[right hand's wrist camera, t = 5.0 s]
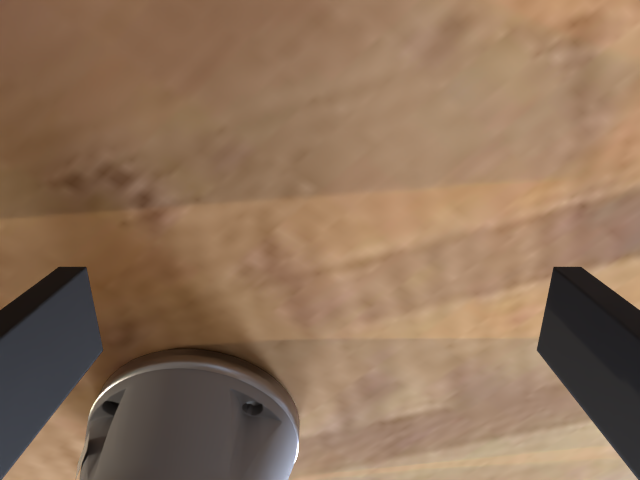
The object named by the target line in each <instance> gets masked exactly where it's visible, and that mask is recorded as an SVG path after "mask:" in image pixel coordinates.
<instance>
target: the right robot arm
mask: <svg viewBox="0 0 640 480" xmlns="http://www.w3.org/2000/svg"><path fill="white" fill-rule="evenodd" d="M102 351H103V347H102V342H101V337H100V332H99V327H98V322H97V317H96V312H95V307H94V302H93V298H92V293H91V288H90V283H89V278H88V273H87V268H86V267H58V268H57V269H56V270H54V271H53V272H51V273H50V274H49V275H47V276H46V277H45V278H43V279H42V280H41V281H39V282H38V283H37V284H35V285H34V286H33V287H31V288H30V289H29V290H27V291H26V292H24V293H23V294H22V295H20V296H19V297H18V298H16V299H15V300H14V301H12V302H11V303H10V304H8V305H7V306H6V307H4V308H3V309H1V310H0V480H2V479H3V477H4V476H5V475H6V473H7V472H8V471H9V470H10V468H11V467H12V466H13V465H14V463H15V462H16V461H17V459H18V458H19V457H20V456H21V454H22V453H23V452H24V451H25V449H26V448H27V447H28V445H29V444H30V443H31V442H32V440H33V439H34V438H35V437H36V435H37V434H38V433H39V431H40V430H41V429H42V428H43V426H44V425H45V424H46V422H47V421H48V420H49V419H50V417H51V416H52V415H53V414H54V412H55V411H56V410H57V408H58V407H59V406H60V405H61V403H62V402H63V401H64V400H65V398H66V397H67V396H68V394H69V393H70V392H71V391H72V389H73V388H74V387H75V386H76V384H77V383H78V382H79V380H80V379H81V378H82V377H83V375H84V374H85V373H86V372H87V370H88V369H89V368H90V366H91V365H92V364H93V363H94V361H95V360H96V359H97V357H98V356H99V355H100V354H101V352H102ZM537 351H538V352H539V354H540V355H541V356H542V357H543V359H544V360H545V361H546V363H547V364H548V365H549V366H550V368H551V369H552V370H553V372H554V373H555V374H556V375H557V377H558V378H559V379H560V380H561V382H562V383H563V384H564V386H565V387H566V388H567V389H568V391H569V392H570V393H571V394H572V396H573V397H574V398H575V400H576V401H577V402H578V403H579V405H580V406H581V407H582V408H583V410H584V411H585V412H586V414H587V415H588V416H589V417H590V419H591V420H592V421H593V422H594V424H595V425H596V426H597V428H598V429H599V430H600V431H601V433H602V434H603V435H604V437H605V438H606V439H607V440H608V442H609V443H610V444H611V445H612V447H613V448H614V449H615V451H616V452H617V453H618V454H619V456H620V457H621V458H622V459H623V461H624V462H625V463H626V465H627V466H628V467H629V468H630V470H631V471H632V472H633V473H634V475H635V476H636V477H637V479H638V480H640V310H639V309H637V308H636V307H634V306H633V305H632V304H630V303H629V302H628V301H626V300H625V299H624V298H622V297H621V296H620V295H618V294H617V293H616V292H614V291H613V290H611V289H610V288H609V287H607V286H606V285H605V284H603V283H602V282H601V281H599V280H598V279H597V278H595V277H594V276H593V275H591V274H590V273H589V272H587V271H586V270H584V269H583V268H582V267H554V268H553V273H552V278H551V283H550V288H549V293H548V298H547V302H546V307H545V312H544V317H543V322H542V327H541V332H540V337H539V342H538V347H537ZM298 446H299V416H298V412H297V409H296V406H295V404H294V402H293V400H292V398H291V396H290V395H289V394H288V392H287V391H286V390H285V389H284V388H283V386H282V385H281V384H280V383H279V382H278V381H276V380H275V379H274V378H273V377H272V376H270V375H269V374H268V373H266V372H265V371H263V370H261V369H260V368H258V367H256V366H254V365H252V364H251V363H248V362H246V361H244V360H241V359H239V358H236V357H233V356H230V355H226V354H222V353H218V352H213V351H207V350H198V349H174V350H165V351H160V352H155V353H151V354H147V355H144V356H141V357H139V358H136V359H134V360H132V361H130V362H128V363H127V364H125V365H123V366H122V367H120V368H119V369H118V370H117V371H115V372H114V373H113V374H112V375H111V376H110V377H109V379H108V380H107V381H106V383H105V384H104V386H103V388H102V390H101V392H100V393H99V395H98V397H97V399H96V401H95V403H94V405H93V407H92V408H91V411H90V414H89V417H88V424H87V431H86V438H85V445H84V448H83V451H82V453H81V456H80V459H79V462H78V467H77V474H76V478H77V475H78V473H79V470H80V467H81V464H82V467H81V474H80V480H288V478H289V475H290V473H291V470H292V468H293V465H294V463H295V460H296V458H297V454H298Z"/></svg>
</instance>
